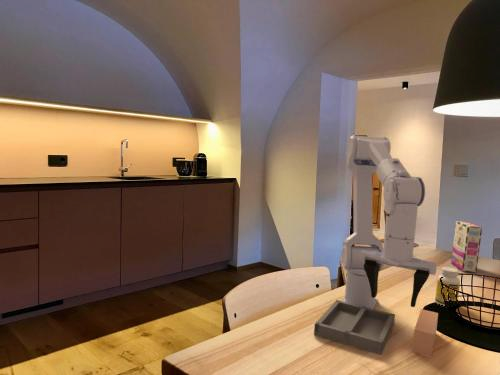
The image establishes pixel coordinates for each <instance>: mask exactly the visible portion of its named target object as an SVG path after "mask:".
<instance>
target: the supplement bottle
mask: <svg viewBox="0 0 500 375" xmlns="http://www.w3.org/2000/svg"><path fill="white" fill-rule="evenodd" d="M458 276H459V269H458V268H454V267H448V266H443V267H441V274H439V275H438V276H437V279H436V280H437V282H436V289H435V299H434V301H435V303H436V304H437V305H439V304H440V305H439V306H441V305H443V306H442V307H444V306H445V303H444V300H443V297H442V294H441V283H440V278H441V277H443V278H442V282H443V284H445V285H447V286H449V287H451V288H453V289H455V290H457V291H459V292H457V298H458V299H459V294H460V286H461V280H460V279H459V278H458ZM443 293H444V295H445V297H446V299H448V295H447V289H446V288H444V289H443ZM449 296H450V297H451V300H452V301H456V297H455V292H454V291H453V290H451V289H449Z"/></svg>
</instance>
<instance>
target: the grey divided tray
mask: <svg viewBox="0 0 500 375" xmlns="http://www.w3.org/2000/svg"><path fill="white" fill-rule="evenodd" d="M395 317H396V313H392V312H386V311H384V310H380V309H375V308H373V309H371V308H367V307H363V306H359V305H355V304H351V303H347V302H343V301H342V300H337V299H336V300H335V301H334V302H333V303H332V304H331V305H330V306H329V308H327V310H326V311H325V312H324V313H323V314H322V315H321V316H320V318H318V319H317V321H316V322H315V323H314V329H313V330H314V331H313V335H314V336H316V337H319V338H320V337H321V338H323V339H327V340H329V341H333V342H336V343H340V344H344V345H347V346H350V347H353V348H356V349H360V350H364V351H366V352H367V351H368V352H370V353H374V354H378V355H380V356H381V355H382V354H383V351H384V349H385V346H386V344H387V342H388V339H389V337H390V335H391V332H392V331H393V328H394V325H395V320H396V318H395Z"/></svg>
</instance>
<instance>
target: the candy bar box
mask: <svg viewBox="0 0 500 375" xmlns="http://www.w3.org/2000/svg"><path fill="white" fill-rule="evenodd" d="M454 228H455V229H454V235H453V244H452V252H451V261H450V262H451V263H450V264H452V265H453V266H455V267H456V269H457V270H459V271H461V272H464V273H471V272H476V273H477V271H478V262H479V256H480V249H481V248H480V247H481V239H482V233H483V232H482V231H483V227H482V226H480V225H477V224H474V223H472V222H469V221H460V220H459V221H457V220H456V221H455V226H454Z"/></svg>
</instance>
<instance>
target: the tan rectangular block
mask: <svg viewBox="0 0 500 375" xmlns="http://www.w3.org/2000/svg"><path fill="white" fill-rule="evenodd" d="M417 318H418V319H417V321H416V323H415V327H414V330H413V331H414V332H413V339H412V340H413V341H412V350H411V352H412V353H414V354H418V355H422V356H424V357H428V358H431V357H432V356H433V350H434V346H435V341H436V337H437V336H436V335H437V327H438V320H439V313H438V312H435V311H430V310H426V309H420V312H419V315H418V317H417Z"/></svg>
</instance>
